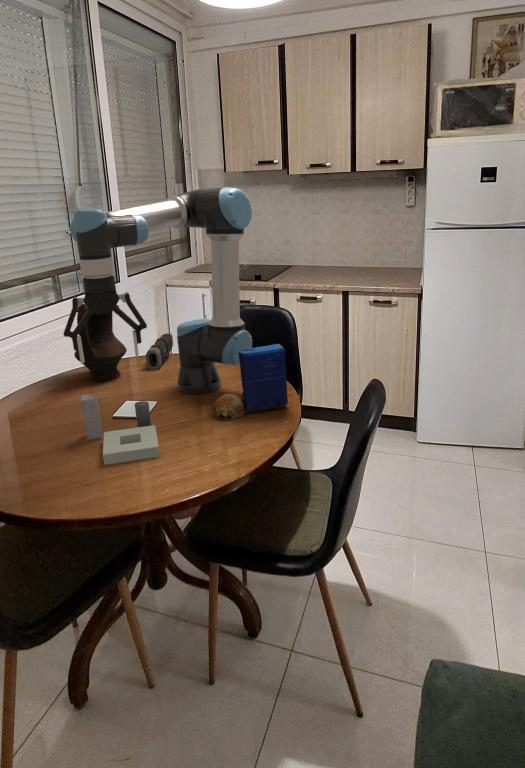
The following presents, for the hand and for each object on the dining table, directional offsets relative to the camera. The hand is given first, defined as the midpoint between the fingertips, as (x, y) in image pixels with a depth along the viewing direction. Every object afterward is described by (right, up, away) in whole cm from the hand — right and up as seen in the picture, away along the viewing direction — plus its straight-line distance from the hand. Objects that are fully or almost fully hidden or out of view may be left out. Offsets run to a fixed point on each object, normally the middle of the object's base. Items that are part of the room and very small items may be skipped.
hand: (110, 359), depth 142 cm
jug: (-20, -4, +64) cm, 67 cm away
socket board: (+4, -24, +7) cm, 25 cm away
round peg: (+5, -20, +19) cm, 28 cm away
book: (+40, -14, +29) cm, 51 cm away
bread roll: (+29, -16, +27) cm, 42 cm away
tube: (-2, +4, +83) cm, 83 cm away
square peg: (-9, -21, +16) cm, 28 cm away
